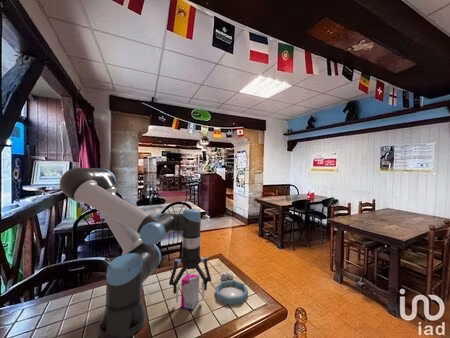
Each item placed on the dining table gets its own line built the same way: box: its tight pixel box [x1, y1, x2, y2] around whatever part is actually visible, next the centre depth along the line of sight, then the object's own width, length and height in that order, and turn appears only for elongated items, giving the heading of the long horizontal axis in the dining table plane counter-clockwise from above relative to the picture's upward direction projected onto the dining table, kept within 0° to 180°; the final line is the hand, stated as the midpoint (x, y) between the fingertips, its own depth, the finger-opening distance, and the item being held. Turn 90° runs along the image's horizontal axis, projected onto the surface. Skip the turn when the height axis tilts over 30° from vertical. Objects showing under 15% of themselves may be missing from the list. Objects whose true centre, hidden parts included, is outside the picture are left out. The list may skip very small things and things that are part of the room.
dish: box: [215, 279, 249, 306], centre depth 90 cm, size 14×14×2 cm
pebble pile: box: [220, 272, 234, 281], centre depth 104 cm, size 6×6×4 cm
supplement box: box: [180, 273, 200, 311], centre depth 82 cm, size 6×6×12 cm
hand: (190, 299), depth 82 cm, fingers open, 10 cm apart
